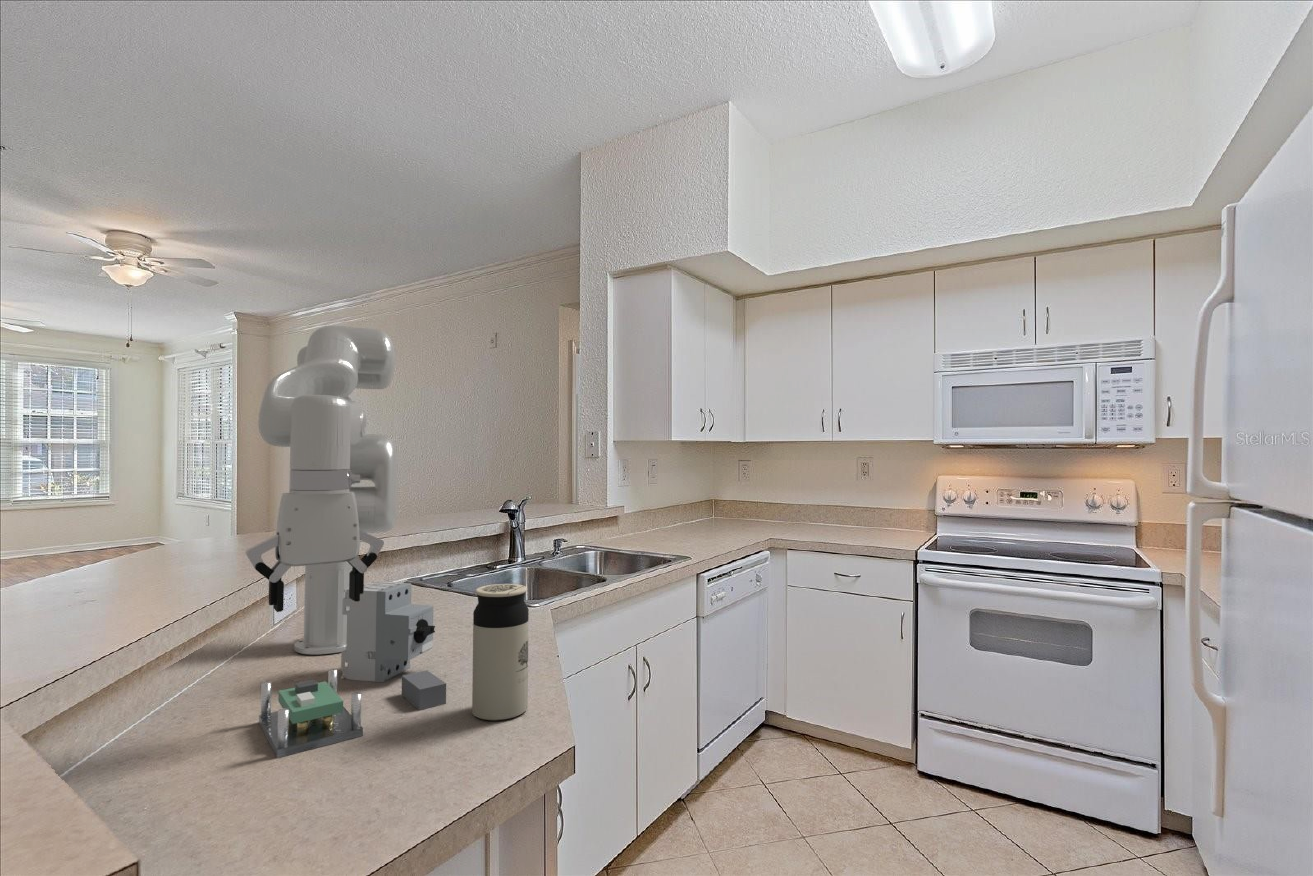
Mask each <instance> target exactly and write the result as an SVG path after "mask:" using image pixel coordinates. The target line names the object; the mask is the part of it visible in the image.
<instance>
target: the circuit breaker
mask: <svg viewBox="0 0 1313 876" xmlns="http://www.w3.org/2000/svg"><path fill="white" fill-rule="evenodd" d="M344 592H345V598H344V599H343V603H342V615H347V639H346V650H344V651H341V652H340V654H341V656H340V657H341V659H340V661H341V662H340V665H341V666H340V670H341V671H342V675H341V676H340V679H341V680H344V679H347V680H352V681H365V682H378V683H384V682H387V681H389V680H390V679H391V678H393V677H395V676H397V675H399V674H401V673H402V672H405V671H407V670H408V669H410V668H411V660H412V659H414V658H416V657H418V656H420V655H423V654H424V653H425V652H427V651H430V650H432V649H433V647H434V633H436V631H435V628H436V626H435V625H434V605H430V604H429V605H426V604H412V583H411V582H391V581H388V582H387V581H369V582H365V583H364V592H363V594H360V601H357V602H355V601H353V600H352V599H350V598H349V588H348V589H345V590H344ZM346 606H349V610H348V611H346ZM346 664H347V666H346Z"/></svg>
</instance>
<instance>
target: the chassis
mask: <svg viewBox="0 0 1313 876" xmlns="http://www.w3.org/2000/svg"><path fill="white" fill-rule="evenodd" d="M327 674H328V675H327V677H328V678H327V679H328V682H327V683H328V685H329V686H330V687H331V688H332V689H333V690H334V691H335V692H336V693H337V694H338V669H337V668H333V669H329V670H328V673H327ZM260 689H261V690H260V691H261V692H260V714H259V715H258V724H259V725H260V728H261V730H262V731H263V733H264V735H265V738H266V739H267V740H268V741H267V742H268V743H269V745H270V747H271V749H272V751H273V752H274V754H275V757H276V759H279V758H283V757H287V756H290V755H294V754H298V753H301V752H302V753H303V752H306V751H310V750H313V749H317V748H321V747H324V746H328V745H332V744H337V743H340V742H345V741H348V740H352V739H356V738H360V737H363V736H364V728H363V726H362V692H361V691H360V692H358V691H357V692H354V693H352V694H351V706H350V707H351V711H350V712H351V713H350V712H349V710H347V709H346V707H345V706H344V705H343V713H338V714H334V715H330V716H325V717H321V718H317V719H312V720H308V721H304V722H300V723H295V724H292V722H291V721H290V719H289V708H280V709H278V710H277V711H272V712H271V707H272V681H264V682H262V683H261V685H260Z"/></svg>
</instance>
